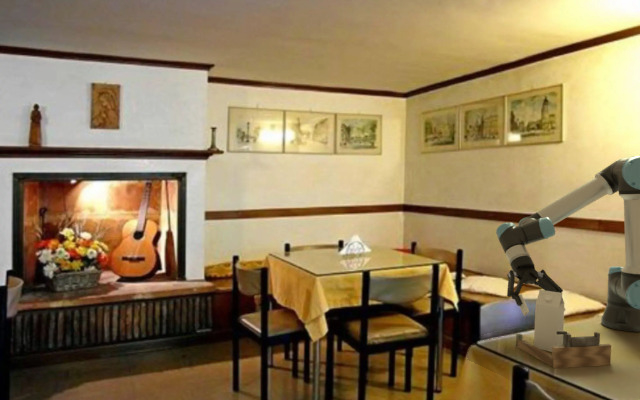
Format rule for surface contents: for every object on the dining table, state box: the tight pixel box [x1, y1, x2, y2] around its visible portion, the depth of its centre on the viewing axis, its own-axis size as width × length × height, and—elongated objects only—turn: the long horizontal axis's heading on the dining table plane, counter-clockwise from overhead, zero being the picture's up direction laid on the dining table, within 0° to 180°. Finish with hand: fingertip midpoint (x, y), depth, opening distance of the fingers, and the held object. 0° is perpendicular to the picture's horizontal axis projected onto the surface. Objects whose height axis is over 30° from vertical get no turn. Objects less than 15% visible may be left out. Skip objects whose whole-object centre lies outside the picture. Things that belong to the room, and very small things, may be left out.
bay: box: [515, 330, 612, 369], centre depth 162 cm, size 19×21×11 cm
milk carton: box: [533, 289, 565, 353], centre depth 168 cm, size 7×7×19 cm
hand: (544, 313), depth 170 cm, fingers open, 13 cm apart
